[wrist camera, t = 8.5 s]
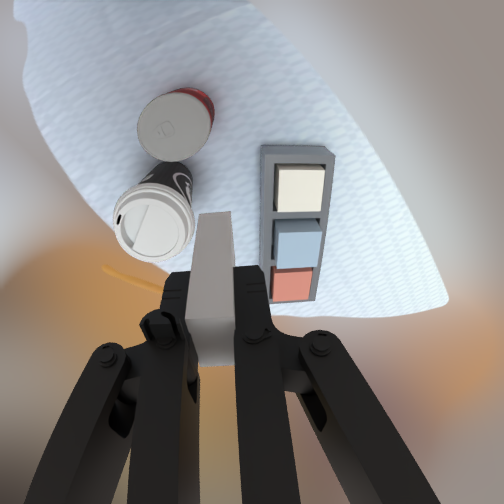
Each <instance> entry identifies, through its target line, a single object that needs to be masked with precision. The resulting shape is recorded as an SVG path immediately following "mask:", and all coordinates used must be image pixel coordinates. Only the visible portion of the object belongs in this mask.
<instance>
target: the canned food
mask: <svg viewBox="0 0 504 504" xmlns="http://www.w3.org/2000/svg"><path fill="white" fill-rule="evenodd" d="M213 120H214V106H213V103H212V101H211V100H210V98H209V97H208V96H207V95H206V94H205V93H203V92H202V91H199V90H197V89H193V88H182V89H178V90H175V91H172V92H169V93H166V94H163V95H161V96H159V97H157V98H155V99H154V100H152V101H151V102H150V103H149V104H148V105H147V106H146V107H145V108H144V110H143V111H142V113H141V115H140V117H139V120H138V124H137V134H138V139H139V142H140V144H141V146H142V147H143V149H144V150H145V151H146V152H147V153H148V154H149V155H151V156H152V157H154V158H156V159H158V160H162V161H167V162H175V161H181V160H184V159H187V158H189V157H191V156H193V155H194V154H195V153H197V152H198V151H199V150H200V149H201V148H202V147H203V146H204V144H205V143H206V141H207V139H208V137H209V134H210V131H211V128H212V124H213Z"/></svg>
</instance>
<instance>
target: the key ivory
mask: <svg viewBox="0 0 504 504" xmlns="http://www.w3.org/2000/svg"><path fill="white" fill-rule="evenodd" d="M324 175H325V170H324V169H323V168H322V166H321V165H320V164H309V163H275V171H274V203H275V206H276V209H277V212H309V211H321V203H322V194H323V185H324Z"/></svg>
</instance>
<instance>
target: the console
mask: <svg viewBox="0 0 504 504" xmlns="http://www.w3.org/2000/svg"><path fill="white" fill-rule="evenodd" d="M275 163H309V164H320V165H321V166H322V168H323V169H324V170H325V175H324V185H323V194H322V203H321V211H309V212H277V209H276V206H275V203H274V171H275ZM334 164H335V155H334V154H333V153H332V152H330V151H329V150H328V149H327V148H326V147H325V146H300V145H261V187H260V258H259V267H260V268H261V270H262V271H263V272H264V275H265V281H266V288H267V294H268V300H269V304H278V303H293V302H306V301H315V297H316V291H317V286H318V280H319V274H320V268H321V262H322V256H323V249H324V243H325V236H326V229H327V222H328V215H329V207H330V199H331V191H332V183H333V174H334ZM295 218H315V219H316V221H317V223H318V225H319V226H320V228H321V230H322V237H321V244H320V251H319V258H318V264H317V267H311V268H312V271H313V272H312V278H311V285H310V291H309V297H308V299H306V300H292V301H277V302H273V299H272V294H271V289H270V276H271V266H276V263H275V258H274V254H273V248H274V226H275V219H295Z"/></svg>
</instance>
